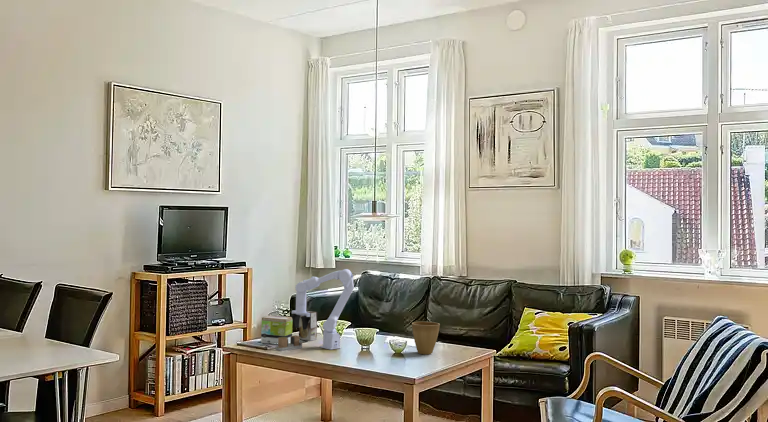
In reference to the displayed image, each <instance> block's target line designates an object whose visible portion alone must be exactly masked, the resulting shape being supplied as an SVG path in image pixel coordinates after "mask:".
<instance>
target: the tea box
mask: <svg viewBox="0 0 768 422" xmlns="http://www.w3.org/2000/svg"><path fill="white" fill-rule="evenodd" d="M293 323H294V322H293V319H292V317H291V316H282V315H270V314H269V315H266V316H264V317H261V325H260V326H261V330H260V333H261V334H260V335H261V336H260V343H261V344H269V343H278V337H287V338H288V343H289V342H290V340H291V336H293Z"/></svg>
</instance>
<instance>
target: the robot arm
mask: <svg viewBox="0 0 768 422" xmlns="http://www.w3.org/2000/svg"><path fill="white" fill-rule="evenodd" d="M331 280H340V282H341V283H342V285H343V287H344V289H343V290H342V292H341V294H340V296H339V298H338V300H337V302H336V304H335V305H334V308H333V310H332V311H331V313H330V314H329V317H328V318H327V319H326V320H325V321H324V322H323V324H322V328H323V330H322V331H323V332H322V333H323V336H322V339H323V340H322V345H320V346H319V348H321V349H322V348H323V349H326V350H337V349H342V347H341V335H340V333H338V332H337V329H336V328H337V325H338V323H337V322H338V320H339V317H340V315H341V313H342V312H343V310H344V309H345V306H346V304H347V302H348V301H349V298H350V297H351V294H352V293H353V292H354V288H355V286H354V275H353V273H352V271H351V270H350V269H349V268H343V269H342V270H341V269H340V270H336V271H332V272H330V273H327V274H325V275H322V276H320V277H318V276H311V277H310V278H308V279H303V280H302V281H299V282H298V283H296V285H295V291H296V292H295V293H296V295H295V310H291V315H290V317H292V319H293V322H292V323H293V326H294V328H295V329H296V328H297V329H299V320H300V316H304V317H301V319H302V327H303V330H305V329H307V326H308V323H309V320H310V319H311V317H310V313H308V312H306V311H307V298H308V297H307V291H310V290H313V289H315V288H316V289H317V288H318V287H320V285H321V284H322V283H326V282H327V281H331Z"/></svg>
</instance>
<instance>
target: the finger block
mask: <svg viewBox="0 0 768 422" xmlns="http://www.w3.org/2000/svg"><path fill="white" fill-rule="evenodd" d="M299 343H300V339H299V335H295V334H294V335H292V336H291V340H290V344H293V346H299Z"/></svg>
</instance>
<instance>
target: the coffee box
mask: <svg viewBox="0 0 768 422" xmlns="http://www.w3.org/2000/svg"><path fill="white" fill-rule="evenodd" d="M306 312H308V313H310V317H311V319H310V320H309V323H308V326H307V329H305V330H303V327H302V319H301V317H304V316H300V320H299V327H298V336H299V340H300V339H301V340H303V341H309V342H310V341H315V340H317V338H318V311H311V310H310V311H309V310H306Z"/></svg>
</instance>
